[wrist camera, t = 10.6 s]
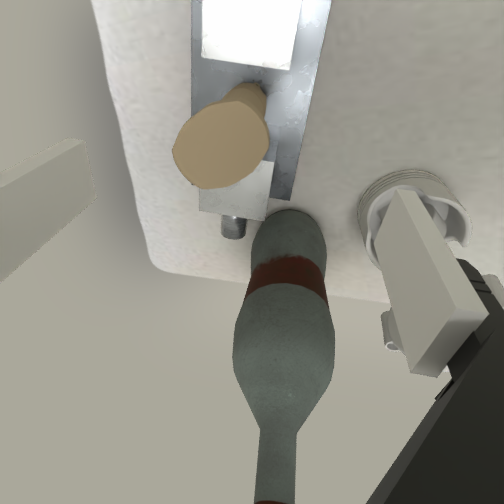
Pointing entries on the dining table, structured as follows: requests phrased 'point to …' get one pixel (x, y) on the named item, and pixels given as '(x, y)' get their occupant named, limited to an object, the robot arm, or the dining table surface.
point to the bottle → (284, 344)
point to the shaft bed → (271, 83)
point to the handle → (224, 139)
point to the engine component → (442, 213)
